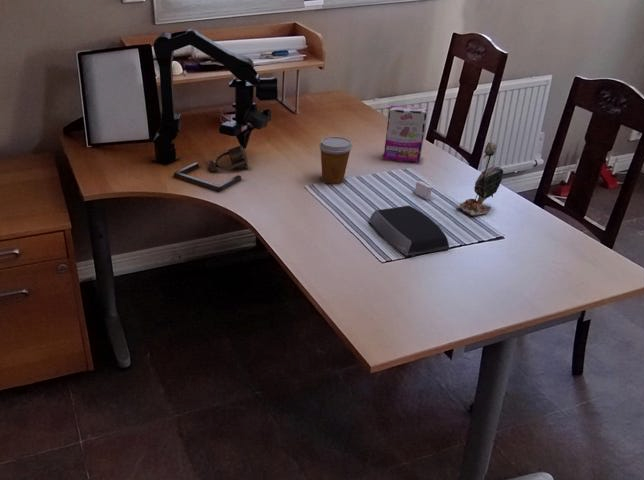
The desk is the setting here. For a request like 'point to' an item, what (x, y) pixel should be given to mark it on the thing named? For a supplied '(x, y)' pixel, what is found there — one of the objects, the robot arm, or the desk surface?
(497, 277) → the desk surface
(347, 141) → the disposable coffee cup
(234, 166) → the mechanical counter
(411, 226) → the hard drive
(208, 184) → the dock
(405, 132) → the candy bar box
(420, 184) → the eraser
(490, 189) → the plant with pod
